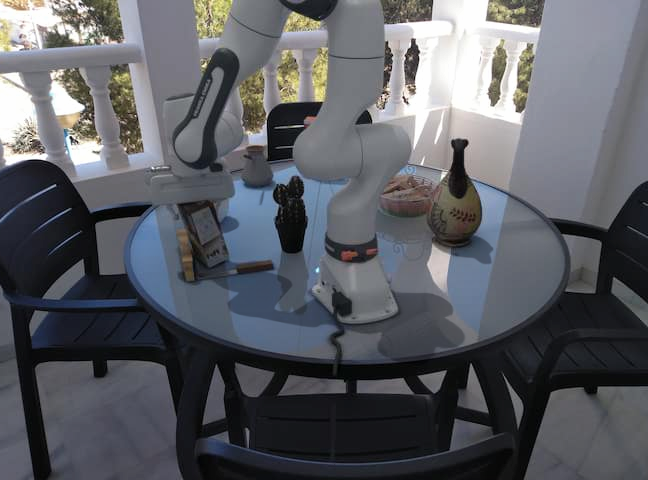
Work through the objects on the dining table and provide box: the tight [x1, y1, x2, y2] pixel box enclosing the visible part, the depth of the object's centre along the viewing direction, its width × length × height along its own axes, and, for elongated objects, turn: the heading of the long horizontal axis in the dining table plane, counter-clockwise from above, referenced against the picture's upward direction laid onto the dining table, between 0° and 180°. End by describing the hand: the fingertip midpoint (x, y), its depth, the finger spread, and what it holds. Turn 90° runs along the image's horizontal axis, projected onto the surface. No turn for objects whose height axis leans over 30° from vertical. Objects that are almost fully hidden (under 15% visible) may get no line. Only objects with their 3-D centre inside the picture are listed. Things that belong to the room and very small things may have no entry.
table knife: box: [195, 259, 274, 281], centre depth 134 cm, size 2×19×2 cm, turn 109°
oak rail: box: [176, 228, 196, 282], centre depth 137 cm, size 18×2×6 cm, turn 19°
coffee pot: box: [240, 144, 275, 188], centre depth 182 cm, size 21×12×15 cm, turn 175°
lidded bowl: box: [209, 198, 230, 224], centre depth 159 cm, size 13×13×11 cm
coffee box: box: [175, 200, 230, 268], centre depth 136 cm, size 9×6×16 cm
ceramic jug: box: [425, 137, 483, 248], centre depth 145 cm, size 17×15×30 cm
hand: (196, 217), depth 134 cm, fingers open, 8 cm apart
